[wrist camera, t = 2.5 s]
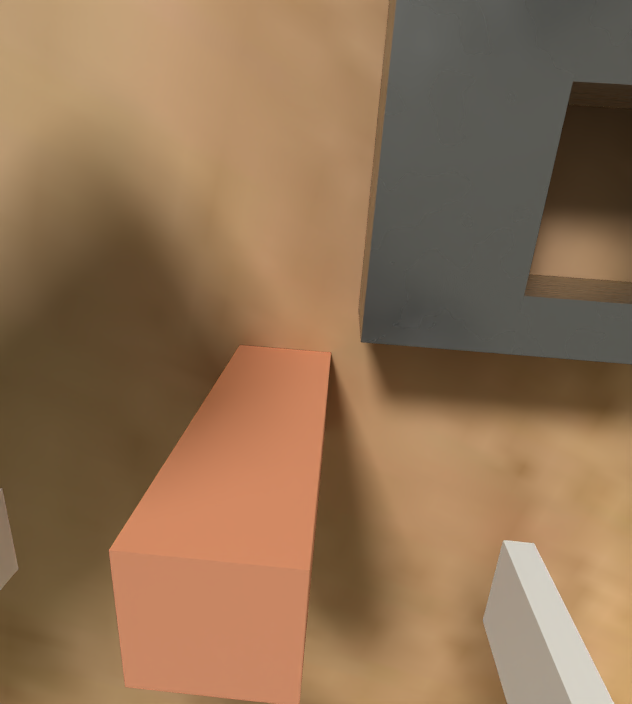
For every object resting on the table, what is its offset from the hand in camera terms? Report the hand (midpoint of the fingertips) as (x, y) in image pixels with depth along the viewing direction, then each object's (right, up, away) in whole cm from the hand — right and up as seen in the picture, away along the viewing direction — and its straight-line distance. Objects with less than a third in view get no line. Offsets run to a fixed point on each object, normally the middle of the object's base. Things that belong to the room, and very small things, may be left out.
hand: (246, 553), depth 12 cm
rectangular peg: (0, +4, +9) cm, 9 cm away
